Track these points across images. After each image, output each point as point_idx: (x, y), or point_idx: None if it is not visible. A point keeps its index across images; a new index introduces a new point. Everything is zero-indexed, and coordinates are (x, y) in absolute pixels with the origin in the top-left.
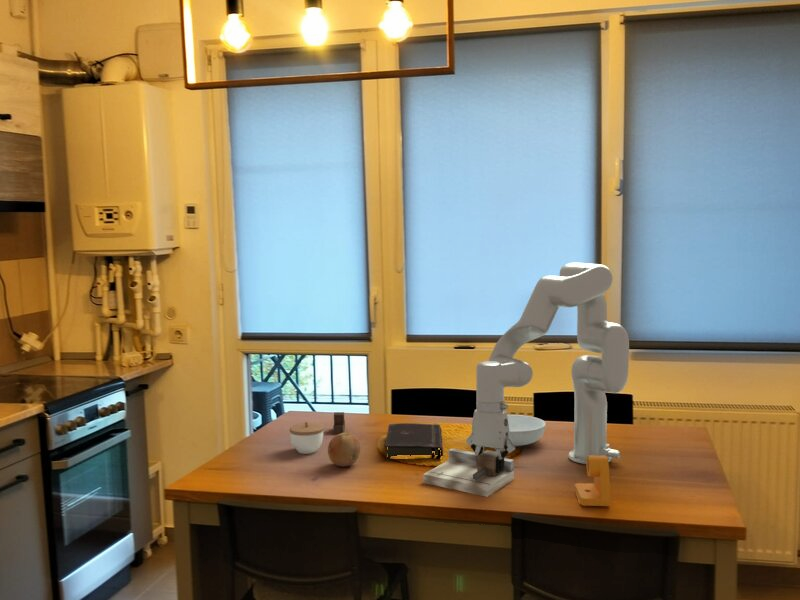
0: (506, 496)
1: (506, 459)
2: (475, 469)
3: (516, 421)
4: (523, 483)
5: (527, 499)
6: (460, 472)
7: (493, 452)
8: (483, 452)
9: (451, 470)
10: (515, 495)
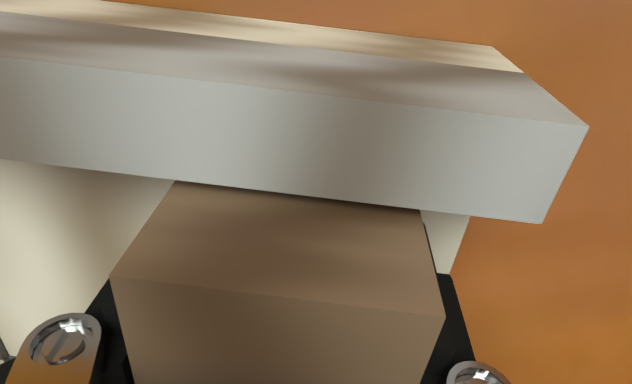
0: (485, 355)
1: (459, 155)
2: (138, 207)
3: None
4: (597, 122)
5: (621, 357)
6: (87, 299)
7: (276, 345)
8: (140, 376)
9: (3, 287)
10: (540, 332)
